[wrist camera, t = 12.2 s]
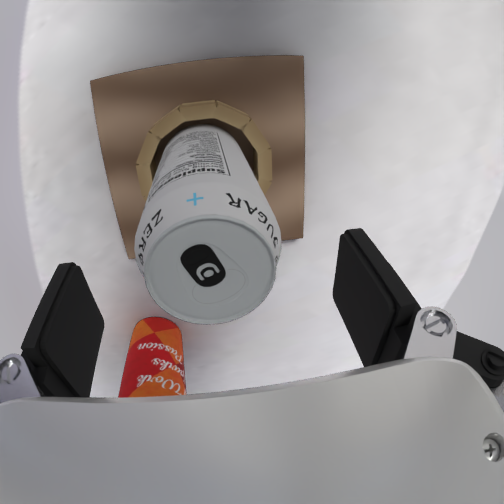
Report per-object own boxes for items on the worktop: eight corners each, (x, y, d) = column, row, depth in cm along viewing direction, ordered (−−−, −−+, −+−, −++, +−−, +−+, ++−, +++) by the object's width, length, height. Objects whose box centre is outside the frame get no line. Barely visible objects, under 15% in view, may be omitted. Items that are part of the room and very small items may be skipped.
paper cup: (204, 336, 36) (212, 447, 24) (159, 362, 38) (156, 464, 26) (155, 297, 32) (143, 418, 20) (111, 329, 34) (91, 438, 22)
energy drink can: (187, 207, 26) (186, 352, 14) (148, 146, 23) (94, 253, 10) (253, 173, 25) (313, 296, 13) (218, 107, 22) (249, 166, 10)
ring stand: (94, 80, 20) (78, 83, 17) (299, 55, 21) (314, 55, 18) (130, 253, 29) (124, 275, 26) (300, 232, 30) (310, 252, 27)
